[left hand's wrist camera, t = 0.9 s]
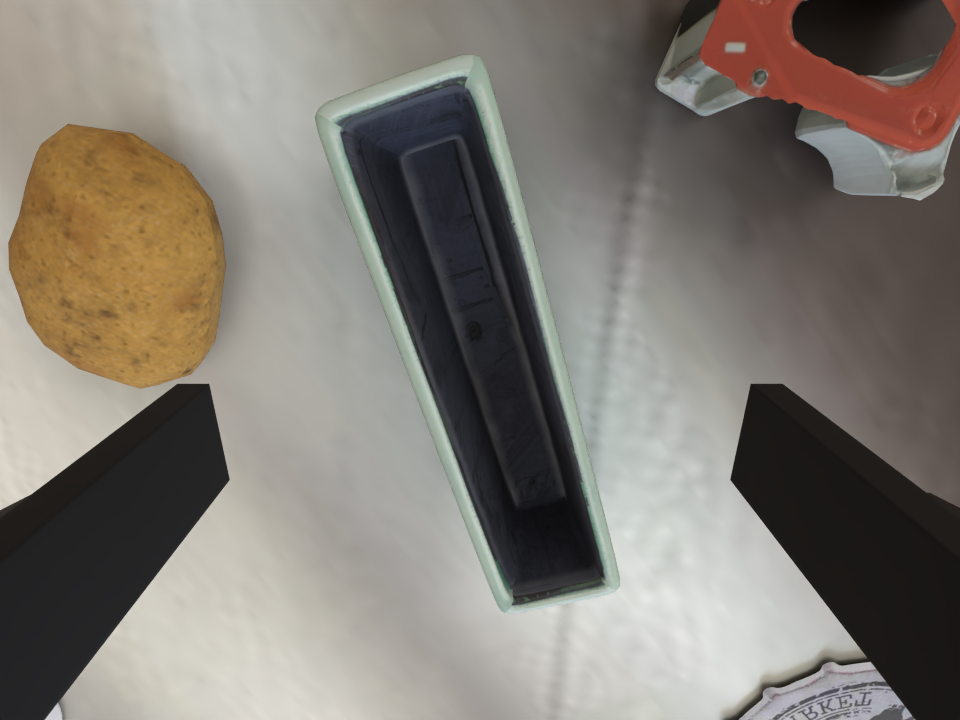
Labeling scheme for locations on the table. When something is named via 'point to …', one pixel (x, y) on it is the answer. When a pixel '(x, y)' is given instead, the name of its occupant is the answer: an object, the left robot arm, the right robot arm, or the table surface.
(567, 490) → the planter
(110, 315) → the potato
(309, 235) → the table surface
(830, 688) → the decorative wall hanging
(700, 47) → the tape dispenser
